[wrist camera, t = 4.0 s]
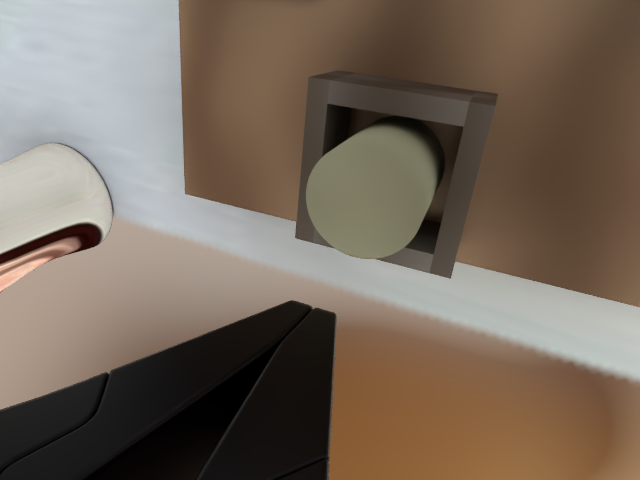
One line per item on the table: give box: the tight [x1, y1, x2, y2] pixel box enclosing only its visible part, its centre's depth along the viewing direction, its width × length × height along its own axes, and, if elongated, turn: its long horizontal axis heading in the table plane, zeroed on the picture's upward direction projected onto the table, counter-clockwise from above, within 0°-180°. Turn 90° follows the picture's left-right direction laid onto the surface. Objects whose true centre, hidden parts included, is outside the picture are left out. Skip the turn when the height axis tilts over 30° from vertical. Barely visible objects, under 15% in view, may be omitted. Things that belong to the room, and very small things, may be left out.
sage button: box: [306, 116, 445, 259], centre depth 15 cm, size 3×3×4 cm
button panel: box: [179, 0, 640, 307], centre depth 15 cm, size 19×16×4 cm
